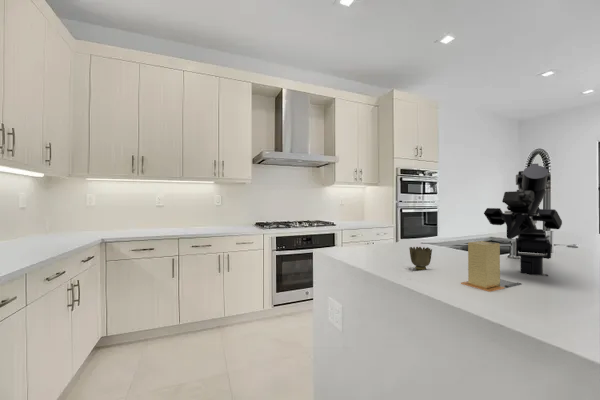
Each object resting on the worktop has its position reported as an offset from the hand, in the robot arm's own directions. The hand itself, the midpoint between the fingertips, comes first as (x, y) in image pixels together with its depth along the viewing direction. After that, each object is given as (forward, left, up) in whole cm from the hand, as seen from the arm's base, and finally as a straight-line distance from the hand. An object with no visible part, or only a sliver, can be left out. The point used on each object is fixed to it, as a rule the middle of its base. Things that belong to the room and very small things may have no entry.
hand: (508, 238), depth 83 cm
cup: (+11, -23, -14) cm, 29 cm away
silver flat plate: (+9, 0, -14) cm, 16 cm away
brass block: (+12, 0, -13) cm, 18 cm away
